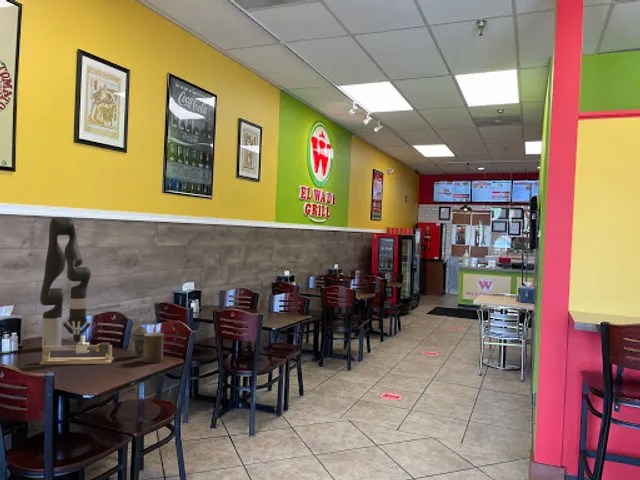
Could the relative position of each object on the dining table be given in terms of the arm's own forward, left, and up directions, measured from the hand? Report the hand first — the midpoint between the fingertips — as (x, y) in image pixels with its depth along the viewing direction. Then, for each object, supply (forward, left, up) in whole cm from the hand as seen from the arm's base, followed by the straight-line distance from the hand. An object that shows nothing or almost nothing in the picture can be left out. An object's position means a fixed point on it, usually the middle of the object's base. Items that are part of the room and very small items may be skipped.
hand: (76, 341), depth 243 cm
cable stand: (0, +1, -10) cm, 10 cm away
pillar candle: (0, +37, -10) cm, 38 cm away
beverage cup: (-10, +29, -10) cm, 32 cm away
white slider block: (0, +3, -5) cm, 6 cm away
